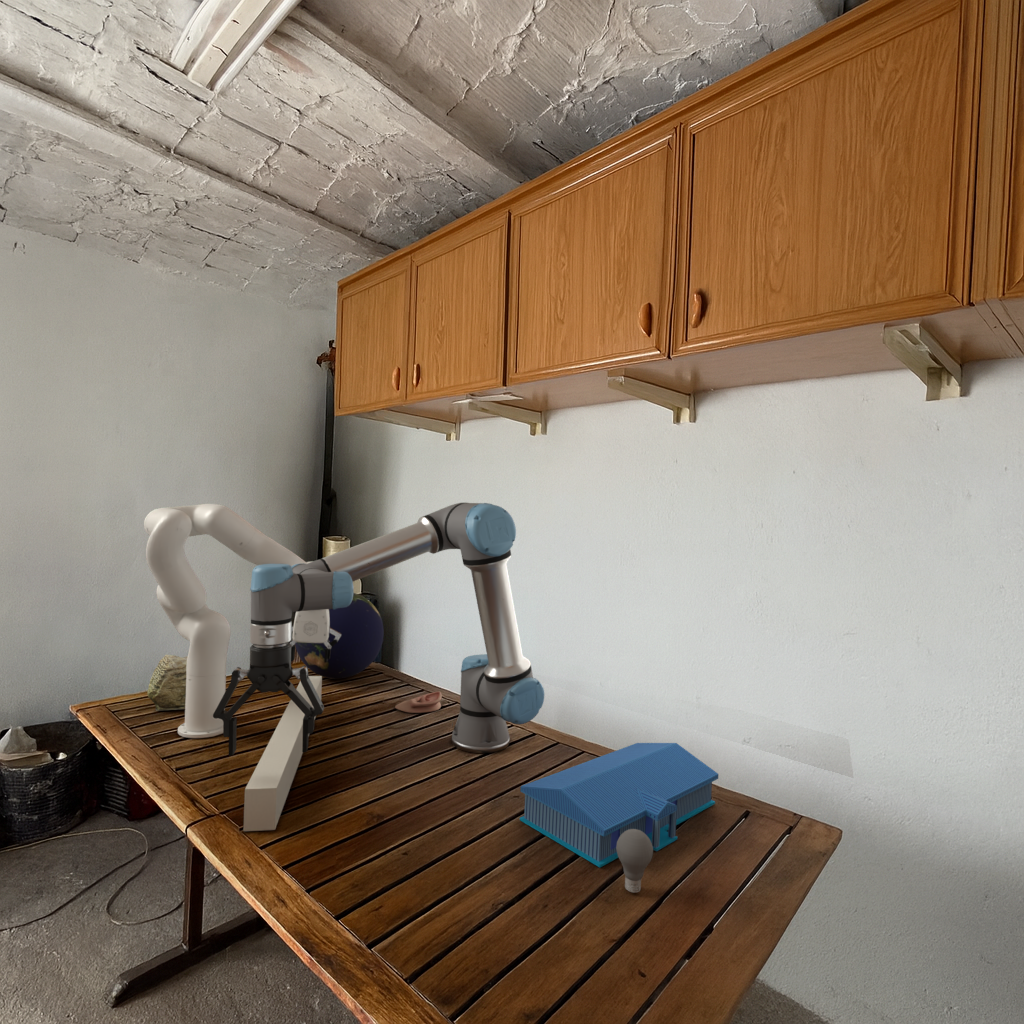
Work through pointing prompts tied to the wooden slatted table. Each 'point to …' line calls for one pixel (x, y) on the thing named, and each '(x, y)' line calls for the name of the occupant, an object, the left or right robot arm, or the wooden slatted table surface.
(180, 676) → the fossil
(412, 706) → the anatomical model
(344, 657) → the globe
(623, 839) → the light bulb
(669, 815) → the model building
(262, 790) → the post
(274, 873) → the wooden slatted table surface
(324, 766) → the wooden slatted table surface
